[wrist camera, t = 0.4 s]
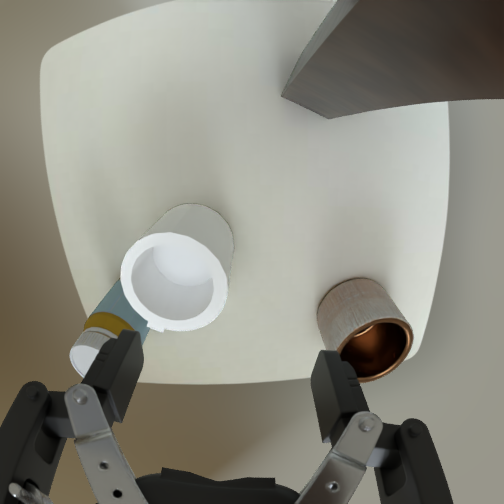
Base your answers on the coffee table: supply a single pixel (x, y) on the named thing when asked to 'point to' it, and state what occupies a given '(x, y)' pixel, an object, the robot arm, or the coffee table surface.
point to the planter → (365, 328)
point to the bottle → (106, 327)
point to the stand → (400, 55)
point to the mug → (180, 269)
